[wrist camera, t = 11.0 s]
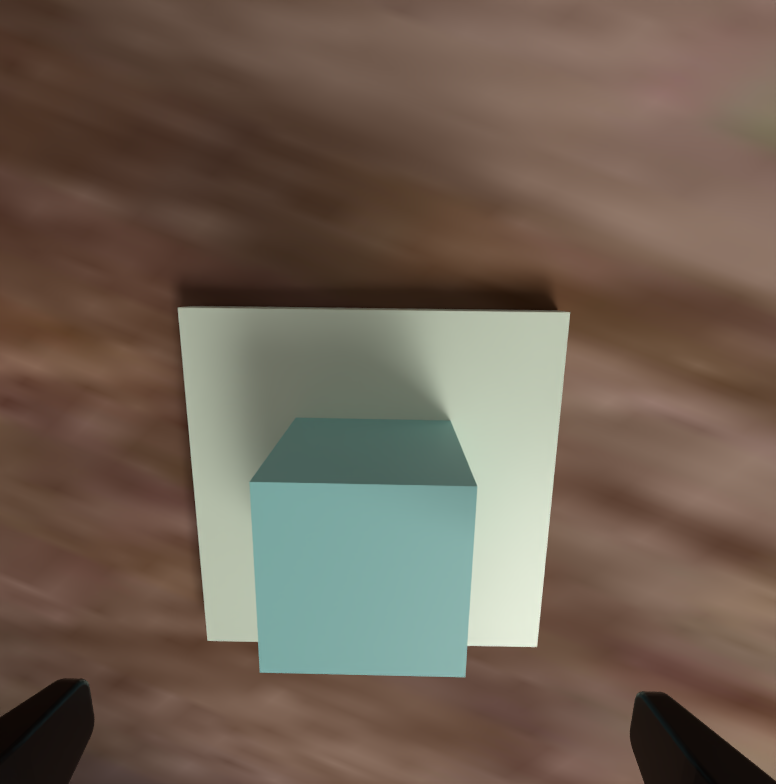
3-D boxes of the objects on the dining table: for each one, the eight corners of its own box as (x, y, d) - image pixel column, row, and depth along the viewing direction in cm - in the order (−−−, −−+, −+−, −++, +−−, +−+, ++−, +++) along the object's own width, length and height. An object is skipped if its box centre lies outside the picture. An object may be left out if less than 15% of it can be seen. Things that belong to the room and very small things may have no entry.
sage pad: (217, 621, 18) (207, 640, 17) (191, 305, 15) (177, 307, 14) (529, 626, 18) (536, 646, 17) (558, 310, 15) (570, 312, 14)
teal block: (299, 556, 16) (260, 672, 11) (295, 417, 15) (249, 481, 10) (443, 558, 16) (465, 677, 11) (450, 420, 15) (477, 486, 10)
